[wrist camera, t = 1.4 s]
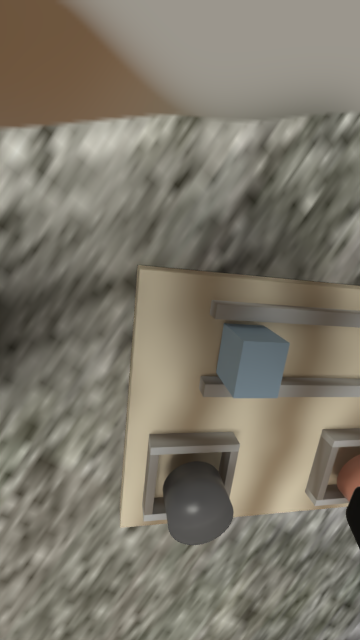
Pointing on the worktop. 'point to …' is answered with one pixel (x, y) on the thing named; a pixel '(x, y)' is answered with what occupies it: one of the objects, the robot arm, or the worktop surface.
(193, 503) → the black button
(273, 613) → the worktop surface
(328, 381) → the control panel
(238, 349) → the slider knob
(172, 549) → the worktop surface
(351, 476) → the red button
